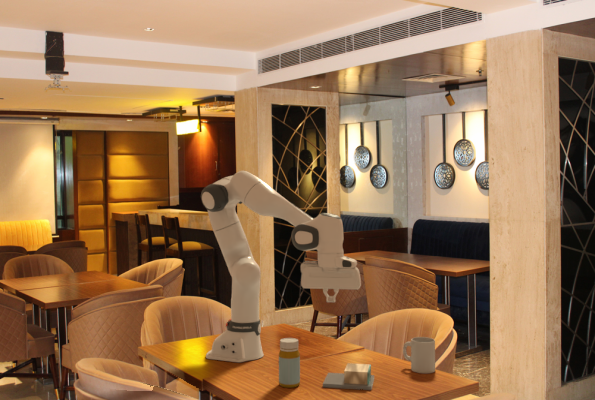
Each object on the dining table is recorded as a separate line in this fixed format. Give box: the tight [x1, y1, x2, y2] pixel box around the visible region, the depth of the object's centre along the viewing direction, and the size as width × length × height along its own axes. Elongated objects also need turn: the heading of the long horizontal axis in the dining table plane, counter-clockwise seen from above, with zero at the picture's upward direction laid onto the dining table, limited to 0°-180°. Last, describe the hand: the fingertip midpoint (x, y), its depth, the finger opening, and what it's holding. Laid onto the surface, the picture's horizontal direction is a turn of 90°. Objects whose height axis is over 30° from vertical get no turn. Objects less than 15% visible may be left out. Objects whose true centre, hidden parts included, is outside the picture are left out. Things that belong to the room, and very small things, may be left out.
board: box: [322, 372, 375, 391], centre depth 194 cm, size 16×12×1 cm
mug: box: [402, 336, 436, 374], centre depth 208 cm, size 12×8×11 cm
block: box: [343, 362, 372, 385], centre depth 193 cm, size 4×9×8 cm
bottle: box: [278, 337, 301, 389], centre depth 192 cm, size 7×7×15 cm
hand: (331, 301), depth 195 cm, fingers closed
